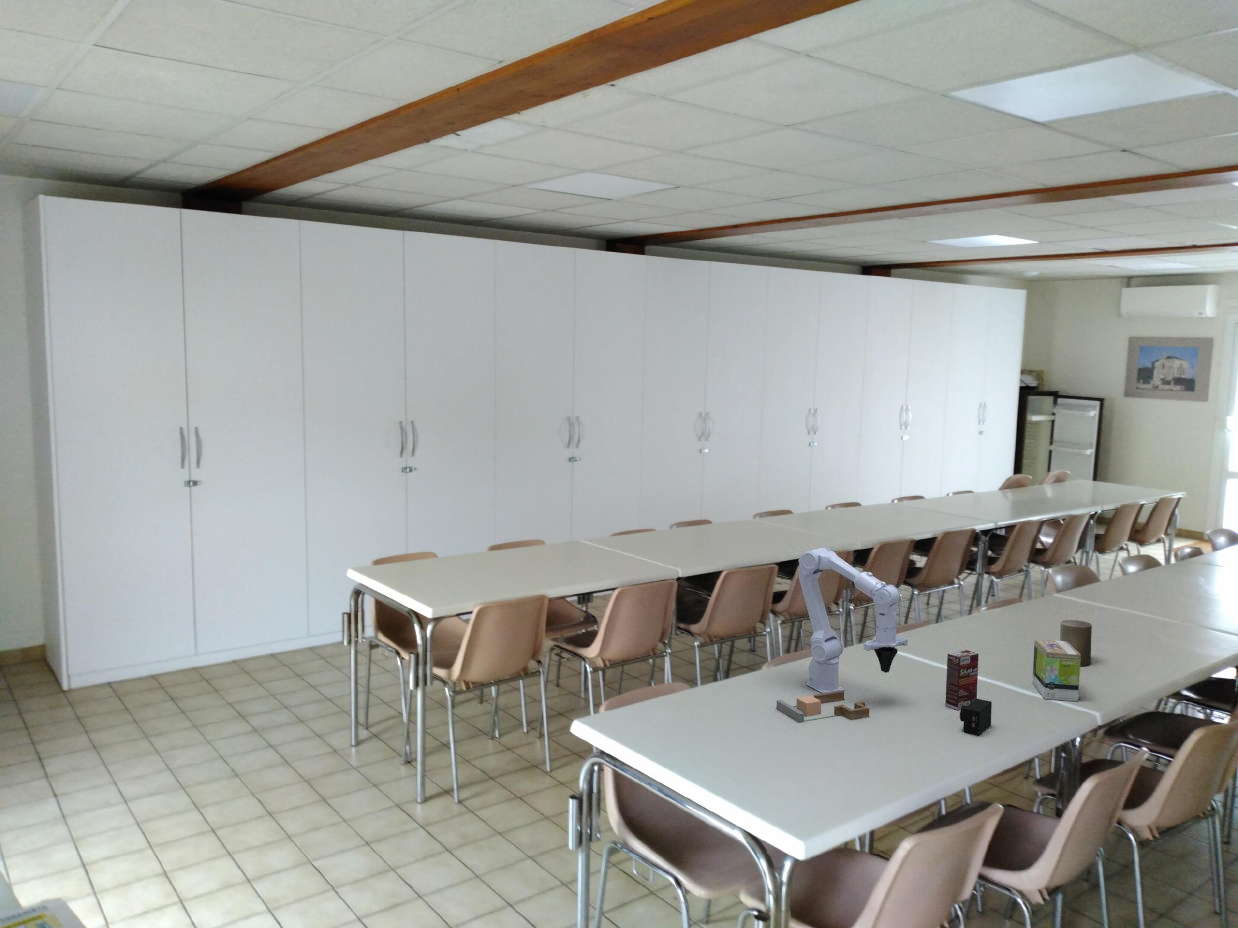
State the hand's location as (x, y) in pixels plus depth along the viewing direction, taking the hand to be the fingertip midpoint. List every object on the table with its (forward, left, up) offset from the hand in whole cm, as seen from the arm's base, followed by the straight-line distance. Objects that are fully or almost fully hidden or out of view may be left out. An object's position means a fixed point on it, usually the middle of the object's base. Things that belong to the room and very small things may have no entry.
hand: (885, 671), depth 268 cm
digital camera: (+25, +11, -10) cm, 29 cm away
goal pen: (-3, -25, -10) cm, 27 cm away
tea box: (+12, +55, -10) cm, 57 cm away
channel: (-1, -14, -10) cm, 17 cm away
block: (-3, -25, -10) cm, 27 cm away
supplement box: (+10, +20, -10) cm, 25 cm away
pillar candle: (-8, +86, -10) cm, 87 cm away
